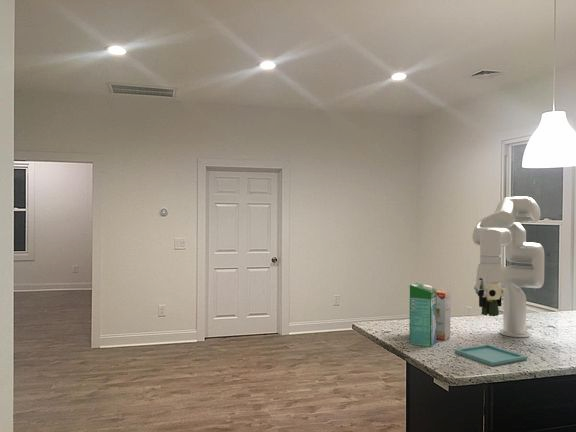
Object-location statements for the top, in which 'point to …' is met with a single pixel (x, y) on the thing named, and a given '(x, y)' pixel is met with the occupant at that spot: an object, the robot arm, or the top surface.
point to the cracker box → (443, 315)
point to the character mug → (493, 299)
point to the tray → (490, 355)
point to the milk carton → (423, 315)
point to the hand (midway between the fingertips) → (490, 306)
